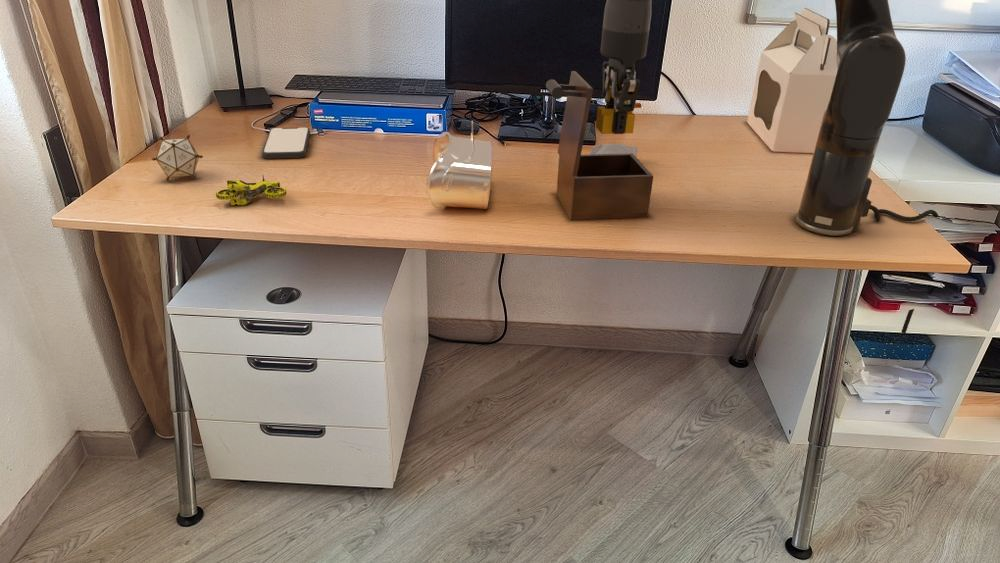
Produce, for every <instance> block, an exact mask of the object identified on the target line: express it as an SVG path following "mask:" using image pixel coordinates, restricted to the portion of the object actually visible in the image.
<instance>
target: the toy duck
mask: <svg viewBox="0 0 1000 563" xmlns="http://www.w3.org/2000/svg"><path fill="white" fill-rule="evenodd" d="M624 104H625V101H624ZM641 108H642V104H641V102H635V106H634V109H641ZM613 114H614V109H606V106H604V105H597V112H596V118H595V119H596V121H595V128H596V129H597V130H598V131H599V132H600V133H601V134H602V135H606V134H607V135H609V134H610V135H613V134H614V133H613V132H612V124H613ZM635 120H636V115H635V114H634V113H633V112H627V121H626V129H625V133H624V134H634V128H635V122H636V121H635ZM614 135H615V134H614Z"/></svg>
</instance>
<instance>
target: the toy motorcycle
mask: <svg viewBox="0 0 1000 563" xmlns="http://www.w3.org/2000/svg"><path fill="white" fill-rule="evenodd" d="M226 186H227V188H223V189H220V190H218V191H216V192H215V197H216V199H218V200H222V201H224V200H225V201H226V200H227V201H229V200H230V205H231V206H246V205H247V204H249V203H251V202H252V198H256V197H258V196H260V195H261V194H264V196H265V197H266V198H268V199H279V198H283V197H286V196H287V193H288V192H287V189H286V188H285V187H281V182H280V181H268V180H265V176H264V174H262V180H261V181H260V182H245V181H243V180H235V179H234V180H233V179H231V180H230V179H228V180H226ZM238 197H239V198H238ZM247 198H248V199H247Z"/></svg>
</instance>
